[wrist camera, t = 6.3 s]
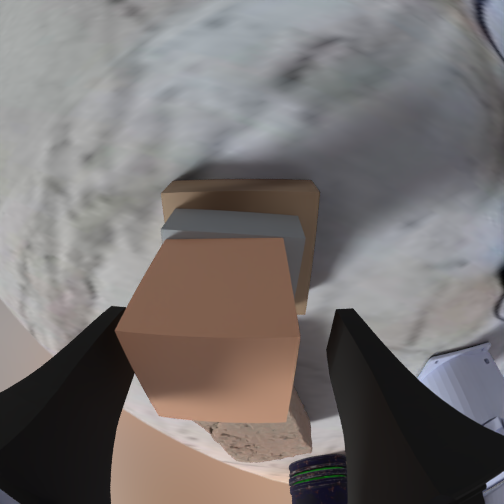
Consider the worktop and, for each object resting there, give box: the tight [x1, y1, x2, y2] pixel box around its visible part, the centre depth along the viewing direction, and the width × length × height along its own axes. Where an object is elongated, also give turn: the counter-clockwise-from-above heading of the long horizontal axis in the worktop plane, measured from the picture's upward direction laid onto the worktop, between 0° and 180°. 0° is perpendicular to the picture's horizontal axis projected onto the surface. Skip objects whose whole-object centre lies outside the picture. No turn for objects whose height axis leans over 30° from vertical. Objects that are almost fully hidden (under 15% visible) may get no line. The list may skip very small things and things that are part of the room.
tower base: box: [161, 179, 320, 315], centre depth 15 cm, size 7×7×2 cm
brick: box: [192, 386, 312, 463], centre depth 21 cm, size 17×8×5 cm, turn 19°
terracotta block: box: [115, 238, 300, 423], centre depth 9 cm, size 4×4×5 cm
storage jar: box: [289, 454, 348, 504], centre depth 29 cm, size 10×10×15 cm
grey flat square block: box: [161, 208, 306, 298], centre depth 13 cm, size 6×6×2 cm
